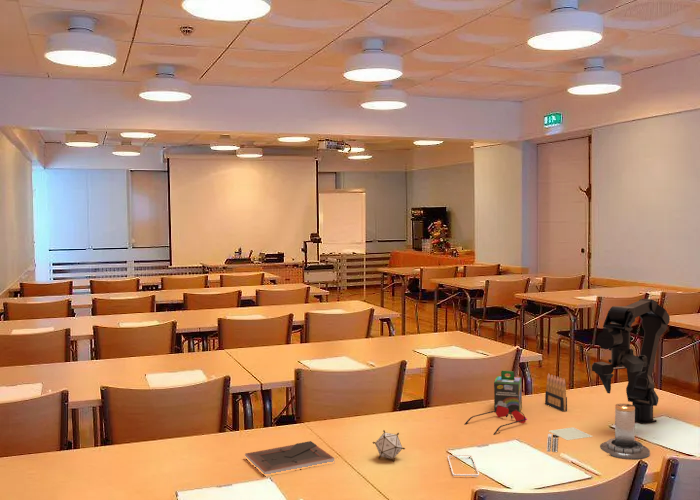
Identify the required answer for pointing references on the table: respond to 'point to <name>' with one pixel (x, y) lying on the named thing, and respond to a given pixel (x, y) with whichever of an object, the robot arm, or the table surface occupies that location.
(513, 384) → the chalk box
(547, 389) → the ammunition clip
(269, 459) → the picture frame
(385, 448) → the game die
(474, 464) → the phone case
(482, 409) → the table surface
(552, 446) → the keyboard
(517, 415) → the glasses
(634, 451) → the hub flange
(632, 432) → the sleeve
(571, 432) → the stand pad
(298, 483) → the table surface
